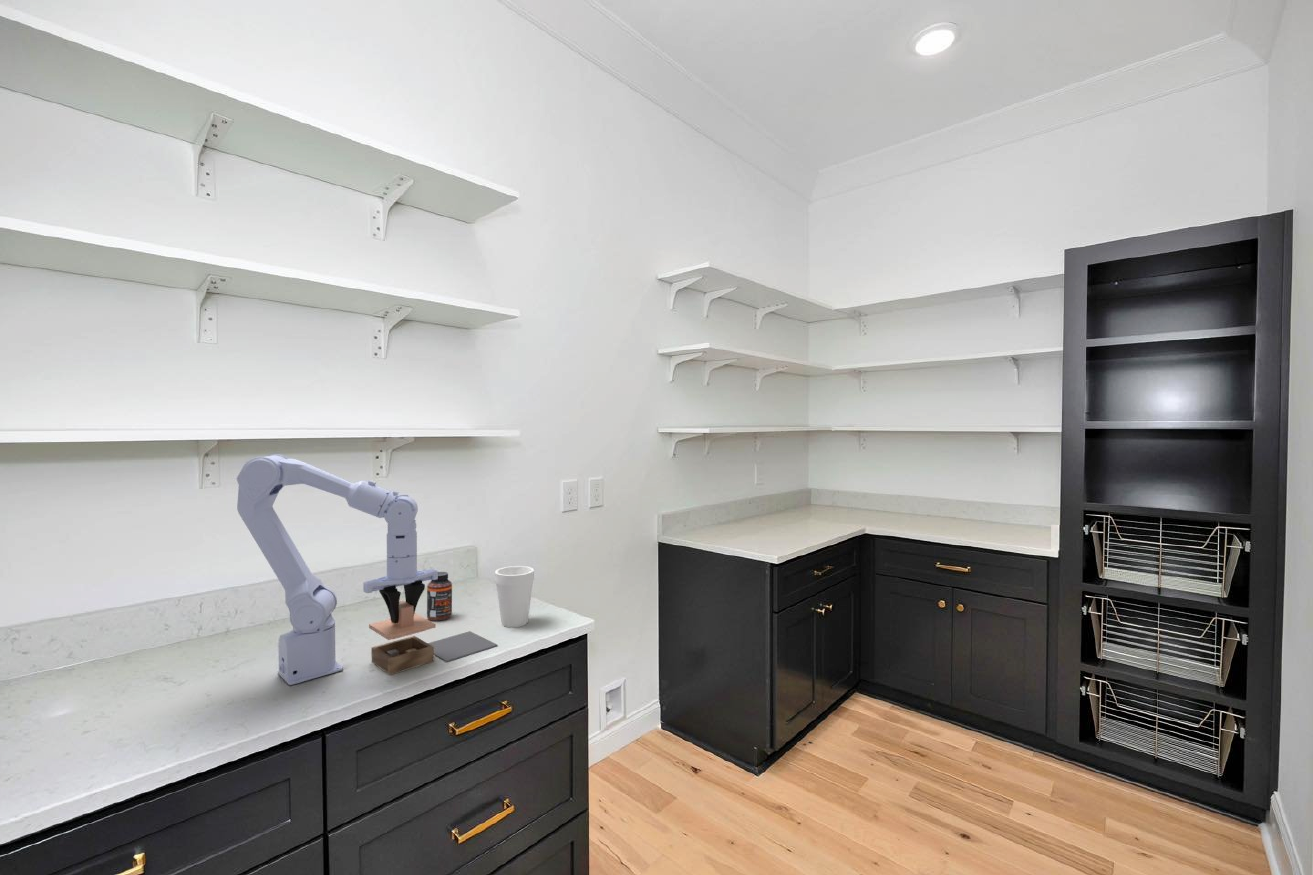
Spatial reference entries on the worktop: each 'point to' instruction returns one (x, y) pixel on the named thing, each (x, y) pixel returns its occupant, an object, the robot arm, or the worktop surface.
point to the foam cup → (514, 594)
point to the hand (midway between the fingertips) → (402, 620)
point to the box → (402, 654)
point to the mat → (460, 646)
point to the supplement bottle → (439, 598)
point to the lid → (402, 623)
